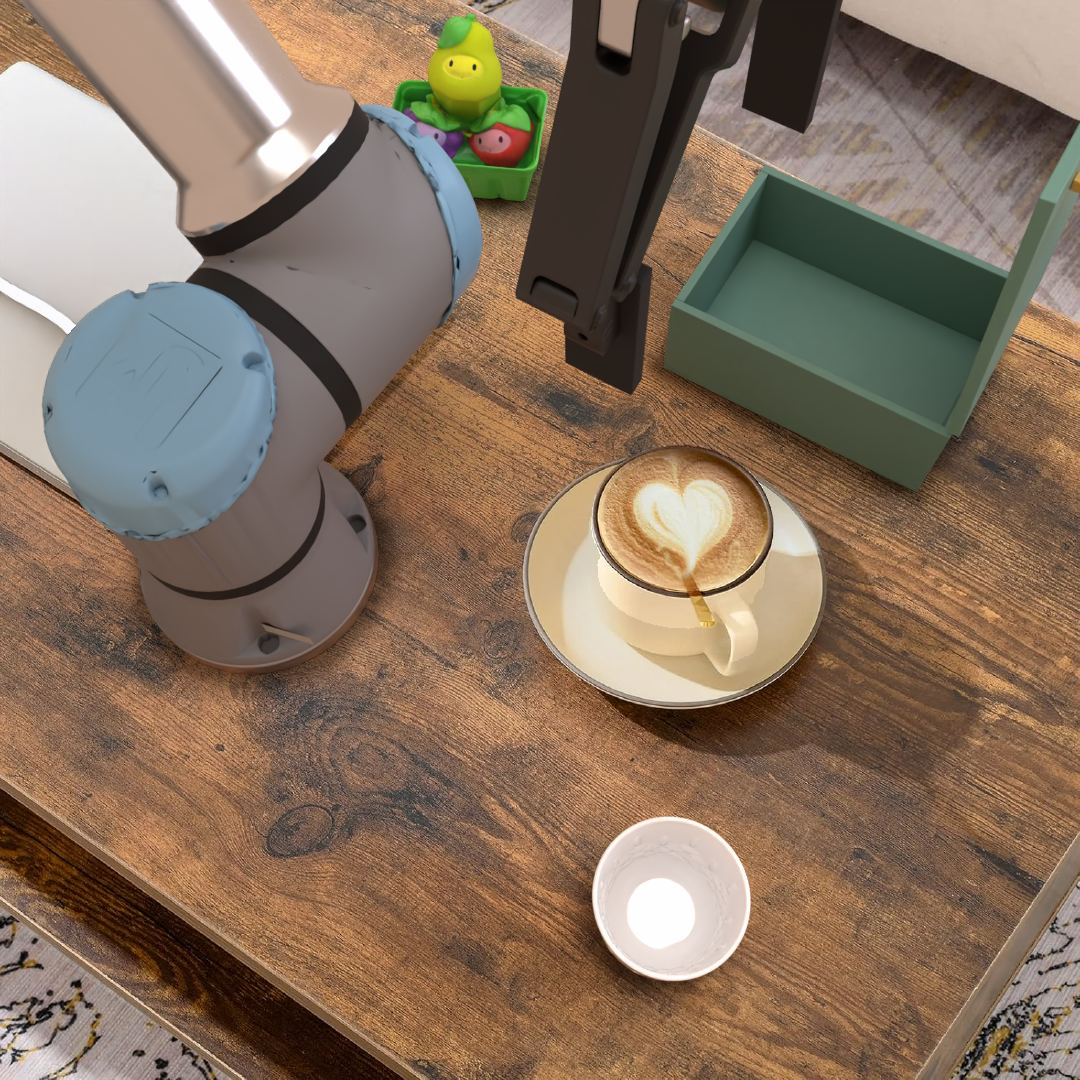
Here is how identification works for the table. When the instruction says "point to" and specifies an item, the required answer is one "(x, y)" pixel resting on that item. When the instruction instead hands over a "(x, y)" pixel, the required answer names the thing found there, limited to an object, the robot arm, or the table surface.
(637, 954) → the white cup
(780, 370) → the chest
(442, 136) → the fruit basket
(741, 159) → the table surface
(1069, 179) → the lid
